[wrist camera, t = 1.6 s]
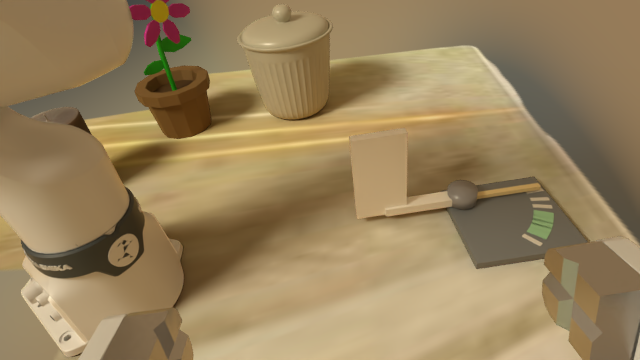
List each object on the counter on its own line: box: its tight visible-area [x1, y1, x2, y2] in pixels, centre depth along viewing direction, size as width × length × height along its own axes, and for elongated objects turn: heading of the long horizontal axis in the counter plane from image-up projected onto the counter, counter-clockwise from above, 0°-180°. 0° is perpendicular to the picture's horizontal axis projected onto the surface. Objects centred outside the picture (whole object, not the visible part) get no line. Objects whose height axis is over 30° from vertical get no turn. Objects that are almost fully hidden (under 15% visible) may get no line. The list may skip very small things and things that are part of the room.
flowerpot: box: [129, 0, 211, 139], centre depth 80 cm, size 14×14×30 cm
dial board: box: [440, 177, 587, 269], centre depth 57 cm, size 14×14×1 cm
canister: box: [237, 4, 333, 120], centre depth 83 cm, size 18×18×21 cm
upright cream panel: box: [349, 128, 541, 219], centre depth 56 cm, size 26×4×13 cm, turn 96°
